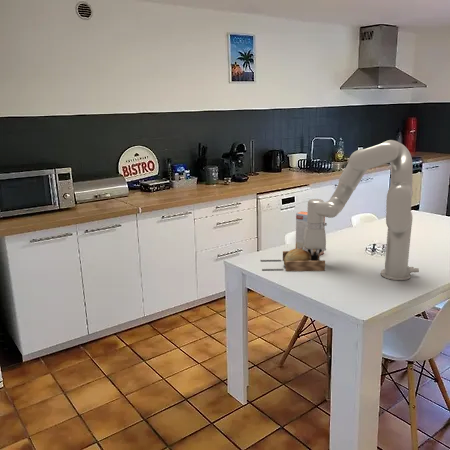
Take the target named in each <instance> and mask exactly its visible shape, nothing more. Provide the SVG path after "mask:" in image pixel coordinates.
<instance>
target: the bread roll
mask: <svg viewBox="0 0 450 450" xmlns="http://www.w3.org/2000/svg"><path fill="white" fill-rule="evenodd" d="M288 251H289V252H288V253H287V254H286V256H285V258H284V261H283V265H284V266H285V267H286V261H310V260H309V254H308V252H307V251H304V250H302V249H296V248H293V249H291V250H288Z"/></svg>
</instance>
